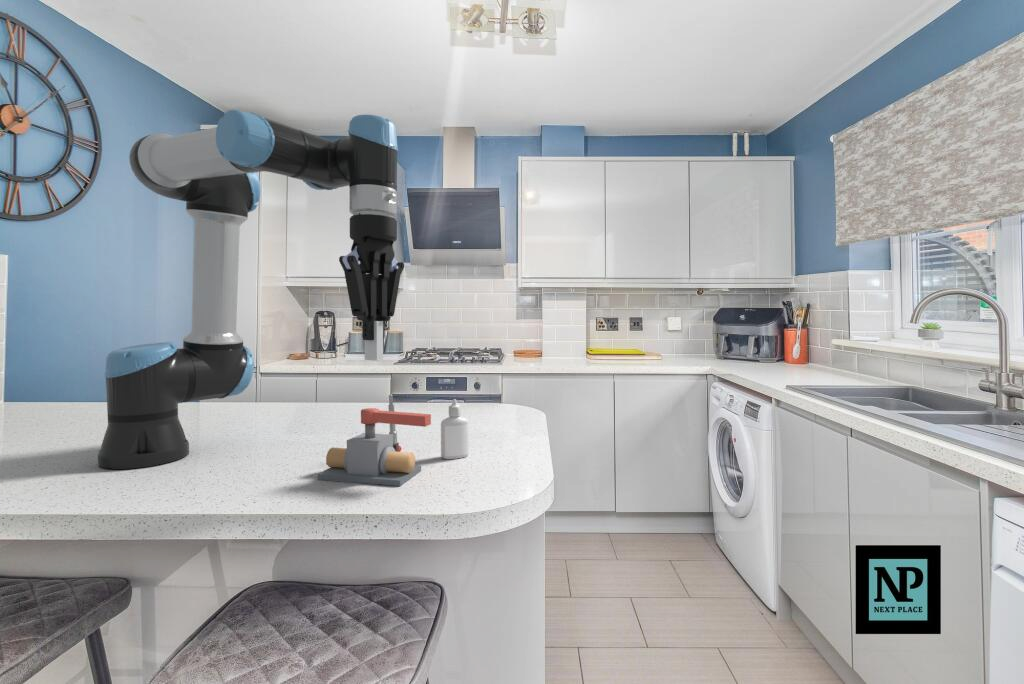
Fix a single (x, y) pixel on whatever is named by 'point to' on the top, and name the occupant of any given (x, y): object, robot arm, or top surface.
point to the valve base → (370, 461)
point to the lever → (394, 417)
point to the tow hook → (393, 427)
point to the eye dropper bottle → (454, 434)
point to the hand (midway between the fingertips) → (373, 359)
